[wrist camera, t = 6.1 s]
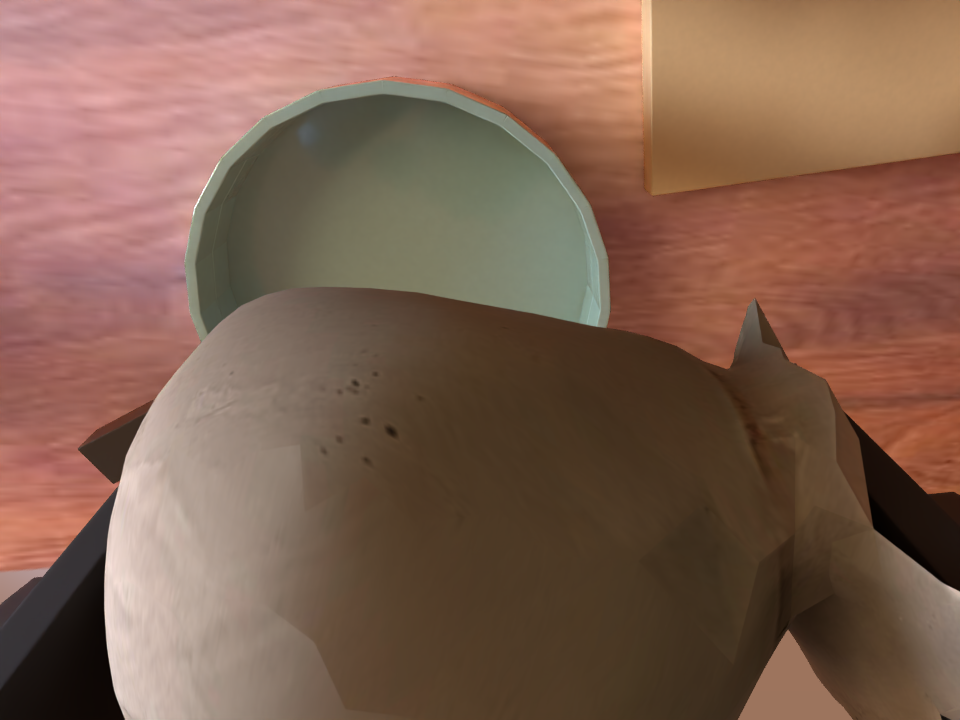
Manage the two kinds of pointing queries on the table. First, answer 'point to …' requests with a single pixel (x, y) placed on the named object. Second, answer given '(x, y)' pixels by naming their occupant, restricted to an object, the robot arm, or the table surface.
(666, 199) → the table surface
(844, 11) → the cutting board
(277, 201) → the pan
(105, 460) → the pan handle
